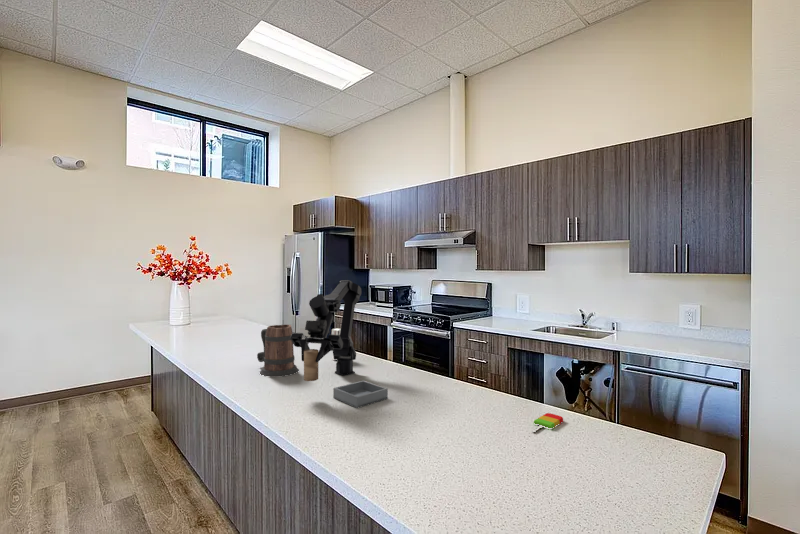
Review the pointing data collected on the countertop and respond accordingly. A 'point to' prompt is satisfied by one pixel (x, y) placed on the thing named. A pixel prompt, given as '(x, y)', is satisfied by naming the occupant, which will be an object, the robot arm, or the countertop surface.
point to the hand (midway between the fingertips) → (309, 361)
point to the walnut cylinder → (310, 365)
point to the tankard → (277, 351)
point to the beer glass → (336, 332)
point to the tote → (360, 393)
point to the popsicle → (549, 420)
